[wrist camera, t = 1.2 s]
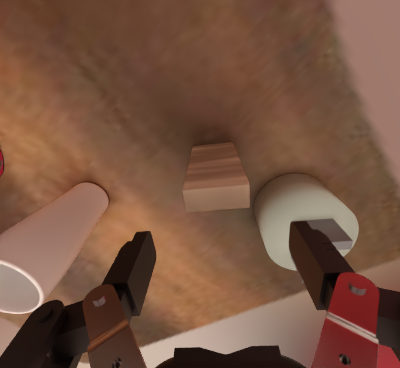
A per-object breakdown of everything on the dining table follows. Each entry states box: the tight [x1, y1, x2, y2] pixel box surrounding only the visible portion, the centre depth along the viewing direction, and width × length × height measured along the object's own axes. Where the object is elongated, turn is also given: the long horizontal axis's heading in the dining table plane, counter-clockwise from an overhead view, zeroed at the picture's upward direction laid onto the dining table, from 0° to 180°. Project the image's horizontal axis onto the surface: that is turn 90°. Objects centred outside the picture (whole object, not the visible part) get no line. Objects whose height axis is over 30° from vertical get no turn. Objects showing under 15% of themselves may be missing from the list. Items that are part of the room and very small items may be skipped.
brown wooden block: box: [182, 142, 250, 212], centre depth 22 cm, size 2×5×12 cm, turn 97°
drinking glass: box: [0, 182, 109, 314], centre depth 24 cm, size 7×7×15 cm
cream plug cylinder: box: [254, 173, 359, 283], centre depth 25 cm, size 10×10×10 cm
